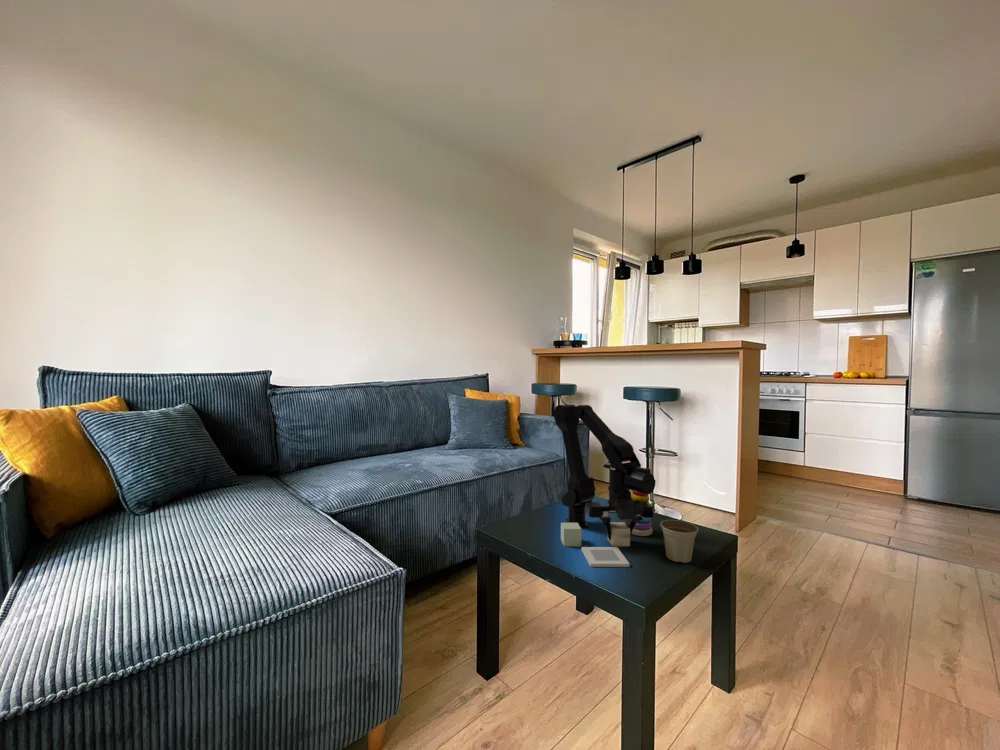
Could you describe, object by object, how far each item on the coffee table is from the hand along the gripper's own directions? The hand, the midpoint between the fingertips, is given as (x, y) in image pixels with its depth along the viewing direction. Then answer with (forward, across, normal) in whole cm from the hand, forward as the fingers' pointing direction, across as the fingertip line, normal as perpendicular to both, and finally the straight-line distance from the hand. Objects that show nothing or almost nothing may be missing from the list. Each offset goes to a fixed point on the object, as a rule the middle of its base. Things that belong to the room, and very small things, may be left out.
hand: (618, 539), depth 118 cm
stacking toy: (+1, +9, +8) cm, 12 cm away
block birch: (+1, 0, 0) cm, 1 cm away
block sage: (+1, -14, 0) cm, 14 cm away
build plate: (+1, -7, -10) cm, 12 cm away
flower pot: (+1, +13, -10) cm, 16 cm away
